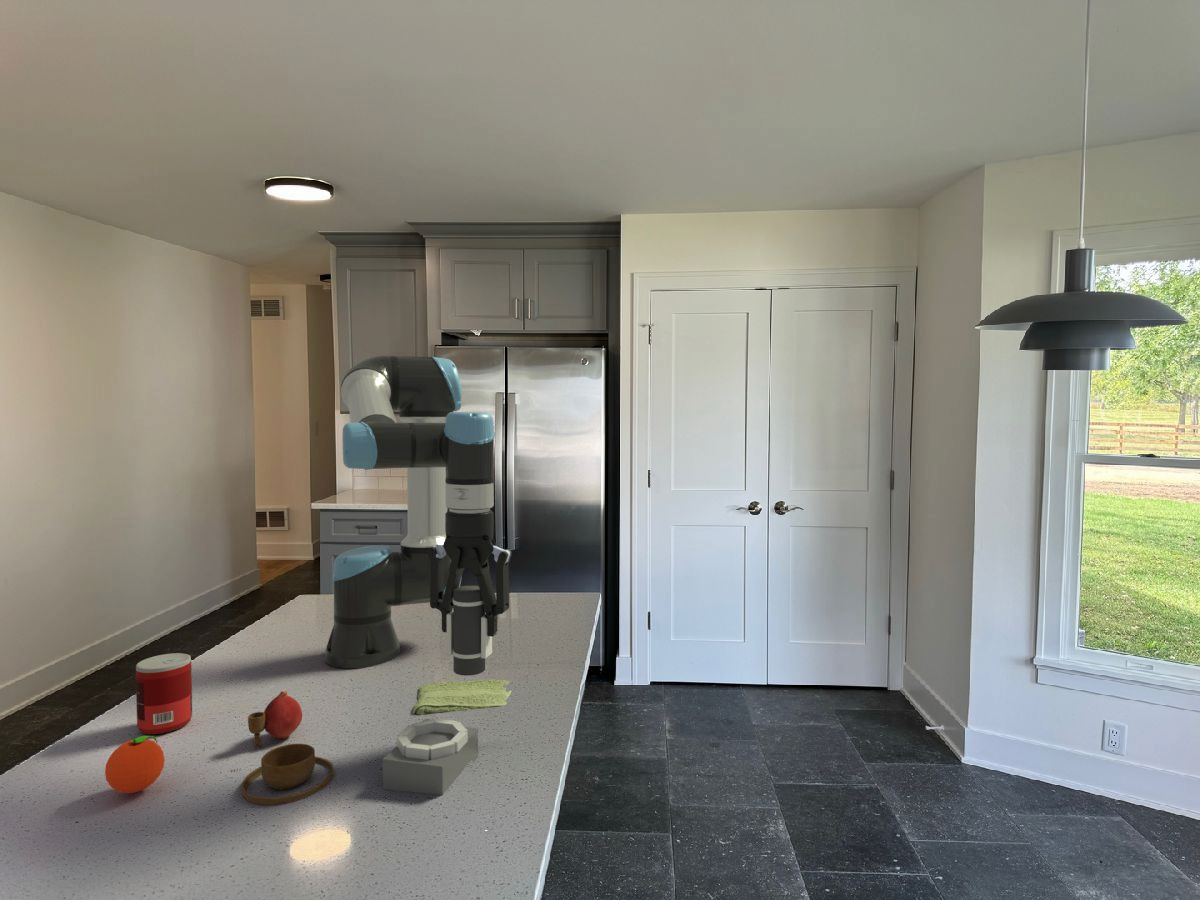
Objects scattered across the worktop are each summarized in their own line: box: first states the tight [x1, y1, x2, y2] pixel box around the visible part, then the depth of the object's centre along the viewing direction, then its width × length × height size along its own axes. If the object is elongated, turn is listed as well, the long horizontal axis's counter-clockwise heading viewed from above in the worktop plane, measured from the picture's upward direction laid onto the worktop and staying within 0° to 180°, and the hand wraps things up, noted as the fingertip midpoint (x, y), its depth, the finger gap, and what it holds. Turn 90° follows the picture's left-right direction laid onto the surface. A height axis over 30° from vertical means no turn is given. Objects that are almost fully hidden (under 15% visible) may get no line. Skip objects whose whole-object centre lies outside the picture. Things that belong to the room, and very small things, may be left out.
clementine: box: [104, 735, 166, 794], centre depth 97 cm, size 8×7×7 cm
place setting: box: [230, 711, 335, 806], centre depth 102 cm, size 18×20×6 cm
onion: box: [263, 689, 303, 740], centre depth 112 cm, size 6×6×8 cm
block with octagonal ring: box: [382, 718, 479, 796], centre depth 101 cm, size 12×9×6 cm
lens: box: [452, 585, 486, 677], centre depth 111 cm, size 5×5×13 cm
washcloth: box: [412, 678, 512, 716], centre depth 126 cm, size 13×18×3 cm
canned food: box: [135, 652, 193, 735], centre depth 117 cm, size 8×8×11 cm
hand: (469, 653), depth 111 cm, fingers closed on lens, 5 cm apart
